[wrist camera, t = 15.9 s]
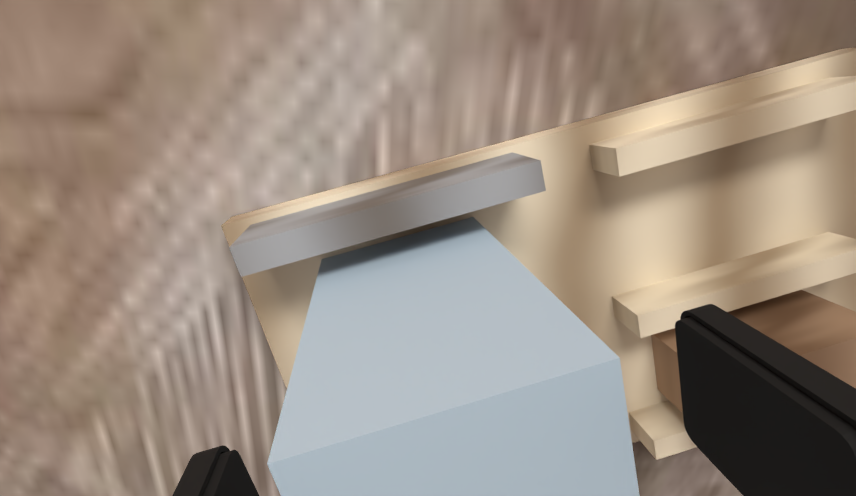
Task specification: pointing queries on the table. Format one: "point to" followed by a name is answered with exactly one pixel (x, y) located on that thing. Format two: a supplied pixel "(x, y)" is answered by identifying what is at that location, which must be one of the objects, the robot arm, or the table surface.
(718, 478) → the table surface
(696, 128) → the rack
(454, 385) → the light blue block
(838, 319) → the offcut
